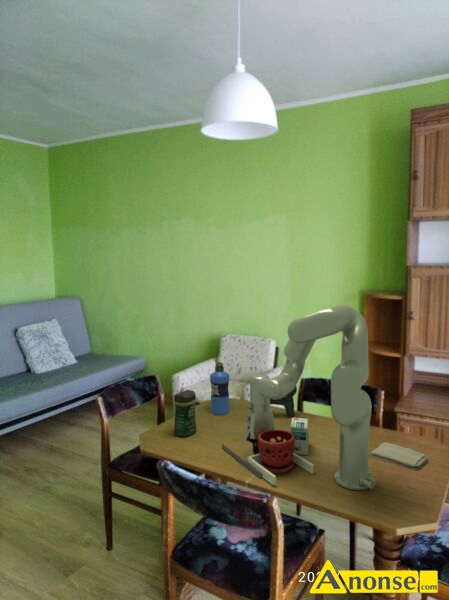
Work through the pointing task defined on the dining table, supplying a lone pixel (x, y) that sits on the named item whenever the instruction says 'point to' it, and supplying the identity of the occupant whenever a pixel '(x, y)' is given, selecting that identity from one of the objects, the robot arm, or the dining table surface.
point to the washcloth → (399, 456)
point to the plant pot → (276, 450)
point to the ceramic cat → (286, 402)
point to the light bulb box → (300, 435)
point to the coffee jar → (185, 413)
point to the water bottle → (219, 391)
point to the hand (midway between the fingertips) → (260, 452)
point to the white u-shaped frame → (270, 477)
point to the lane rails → (242, 461)
